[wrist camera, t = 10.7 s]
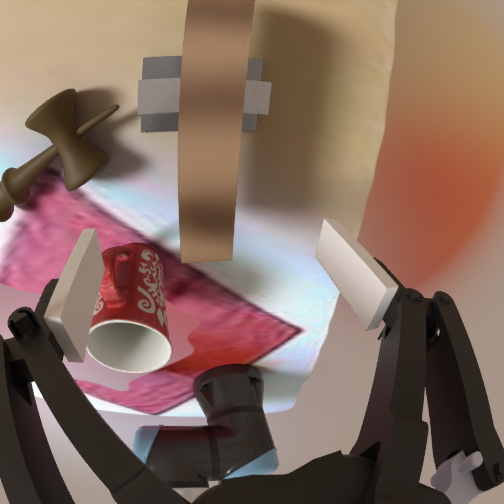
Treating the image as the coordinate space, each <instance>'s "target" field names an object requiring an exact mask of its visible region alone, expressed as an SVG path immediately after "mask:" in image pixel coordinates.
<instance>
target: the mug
mask: <svg viewBox="0 0 504 504" xmlns="http://www.w3.org/2000/svg"><path fill="white" fill-rule="evenodd" d="M102 258H103V263H104V267H105V272H104V275H103V279H102V282H101V286H100V290H99V294H98V297H97V301H96V305H95V309H94V314H93V318H92V322H91V327H90V332H89V337H88V342H87V347H86V350H87V352H88V353H89V354H90V355H91V357H93V358H94V359H95V360H96V361H98V362H99V363H100V364H102V365H104V366H106V367H108V368H111V369H114V370H117V371H121V372H128V373H142V372H149V371H153V370H156V369H158V368H160V367H162V366H164V365H165V364H166V363H167V362H168V361H169V360H170V358H171V356H172V345H171V342H170V340H169V334H168V324H167V315H166V306H165V295H164V282H163V266H162V262H161V259H160V257H159V256H158V254H157V253H156V252H155V251H153V250H152V249H151V248H149V247H147V246H145V245H142V244H126V245H123V246H117V247H112V248H109V249H106V250H105V251H103V253H102Z"/></svg>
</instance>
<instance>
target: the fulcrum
mask: <svg viewBox="0 0 504 504" xmlns="http://www.w3.org/2000/svg"><path fill="white" fill-rule="evenodd" d="M181 65H182V56H166V57H150V58H143V70H142V80H139V81H138V115H139V114H141V132H156V131H178V124H179V97H180V79H181ZM262 69H263V60H256V59H248V67H247V77H246V88H245V98H244V109H243V120H242V131H256V126H257V116H258V114H264V115H268V113H269V104H270V95H271V86H272V82H265V81H261V78H262Z"/></svg>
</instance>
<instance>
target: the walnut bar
mask: <svg viewBox="0 0 504 504" xmlns="http://www.w3.org/2000/svg"><path fill="white" fill-rule="evenodd" d="M254 3H255V0H188V7H187V14H186V23H185V32H184V42H183V53H182V65H181V79H180V97H179V124H178V200H179V228H180V247H181V263H197V262H214V261H230V260H232V252H233V236H234V222H235V207H236V194H237V180H238V168H239V155H240V143H241V131H242V120H243V109H244V98H245V88H246V77H247V67H248V58H249V48H250V39H251V30H252V21H253V12H254Z"/></svg>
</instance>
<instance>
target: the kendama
mask: <svg viewBox="0 0 504 504" xmlns="http://www.w3.org/2000/svg"><path fill="white" fill-rule="evenodd" d="M75 96H76V91H75V89H67V90H64V91H62V92H60V93H58V94H57V95H55V96H53V97H52V98H50V99H49V100H47V101H46V102H45V103H43V104H42V105H41V106H40V107H38V108H37V109H36V110H35V111H34V112H33V113H32V114H31V115H30V116H29V118H28V119H27V120H26V122H25V126H26V127H27V128H29V129H31V130H33V131H36V132H38V133H41V134H43V135H45V136H47V137H48V138H49V139H50V140H51V142H52V143H53V145H52V146H50V147H49V148H47V149H46V150H45V151H43V152H42V153H40V154H39V155H37V156H36V157H34V158H33V159H31V160H30V161H28V162H27V163H25V164H24V165H22V166H21V167H19V168H17V169H16V168H9V169H7V170H6V171H5V172H4V173H3V176H2V180H1V182H0V222H5V221H7V220H8V219H9V218H11V216H12V214H13V211H14V205H15V204H16V203H23V202H24V201H26V200H27V198H28V196H29V188H30V186H31V184H32V183H33V182H34V181H35V179H36V178H37V177H38V176H39V175H40V173H41V172H42V171H43V170H44V169H45V168H46V167H47V166H48V165H49V164H50V163H51V162H52V161H53V160H54V159H55V158H56V157H57V156H58V155H60V157H61V159H62V163H63V168H64V179H65V186H66V189H67V191H73V190H75V189H77V188H79V187H80V186H82V185H84V184H85V183H86V182H88V181H89V180H91V179H92V178H93V177H94V176H95V175H97V174H98V173H99V172H100V171H101V170H102V169H103V168H104V167H105V166H106V165H107V164H108V162H109V159H110V158H109V156H108V155H107V154H106V153H104V152H102V151H100V150H98V149H96V148H95V147H93V146H91V145H90V144H88V143H87V142H86V141H85V140H84V138H83V137H82V135H83V134H85V133H86V132H87V131H89V130H90V129H91V128H93V127H94V126H96V125H97V124H98V123H100V122H101V121H103V120H104V119H106V118H107V117H108V116H110V115H111V114H113V113H114V112H115V111H117V110H118V109H119V105H114V106H112V107H110V108H108V109H107V110H105V111H103V112H101V113H100V114H98V115H96V116H95V117H93V118H92V119H90V120H88V121H87V122H85V123H84V124H82V125H81V126H79V127H78V128H77V127H76V124H75V121H74V105H75Z"/></svg>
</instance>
